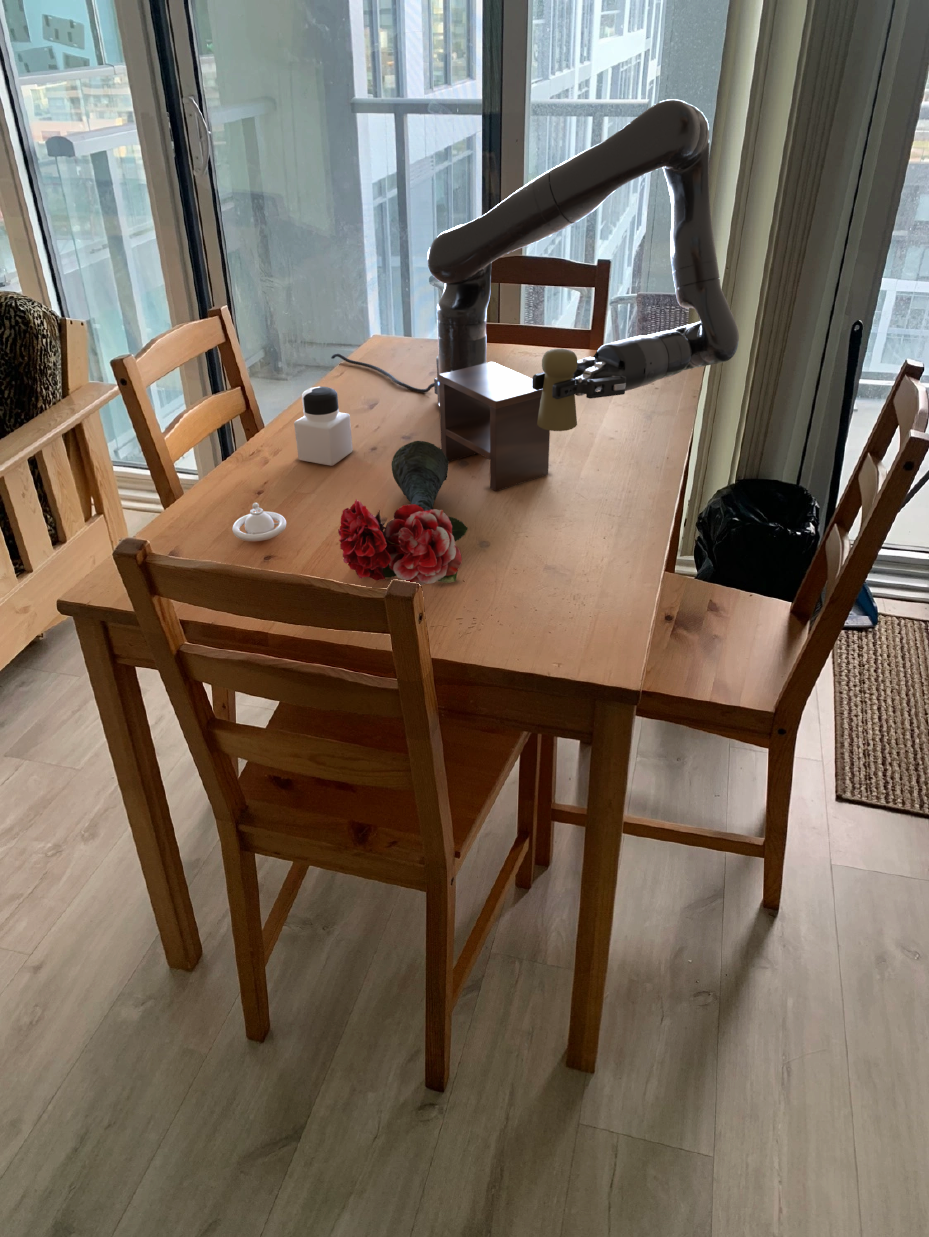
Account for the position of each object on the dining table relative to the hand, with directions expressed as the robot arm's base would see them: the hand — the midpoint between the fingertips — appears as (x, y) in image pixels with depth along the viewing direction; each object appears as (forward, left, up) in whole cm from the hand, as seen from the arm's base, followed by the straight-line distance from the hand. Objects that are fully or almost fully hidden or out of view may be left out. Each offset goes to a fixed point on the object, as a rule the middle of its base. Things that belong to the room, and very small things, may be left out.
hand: (544, 387), depth 136 cm
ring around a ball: (-18, -39, -20) cm, 48 cm away
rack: (-17, +4, -20) cm, 27 cm away
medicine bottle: (-39, -17, -20) cm, 47 cm away
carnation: (-3, -23, -20) cm, 30 cm away
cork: (0, +3, -6) cm, 7 cm away
